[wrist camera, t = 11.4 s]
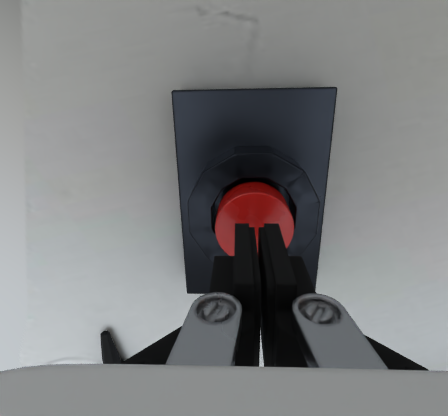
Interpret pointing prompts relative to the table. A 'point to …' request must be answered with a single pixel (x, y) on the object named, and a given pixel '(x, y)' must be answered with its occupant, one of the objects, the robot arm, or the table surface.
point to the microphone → (109, 349)
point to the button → (252, 213)
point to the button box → (251, 163)
